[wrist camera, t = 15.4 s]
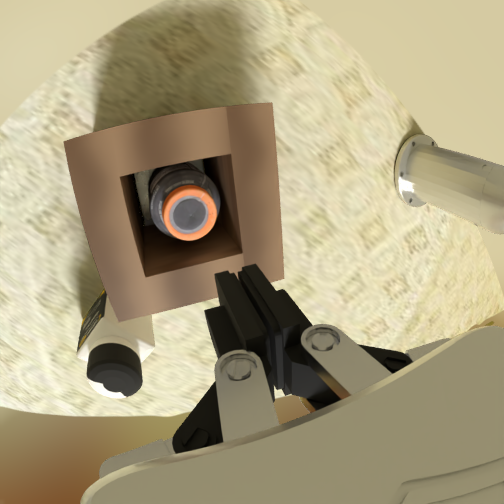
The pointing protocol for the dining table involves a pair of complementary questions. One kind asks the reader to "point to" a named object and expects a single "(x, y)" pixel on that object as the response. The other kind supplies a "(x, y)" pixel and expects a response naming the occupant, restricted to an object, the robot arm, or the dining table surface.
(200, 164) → the plate
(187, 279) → the wooden box holder
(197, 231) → the pill bottle
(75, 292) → the dining table surface
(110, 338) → the medicine bottle
